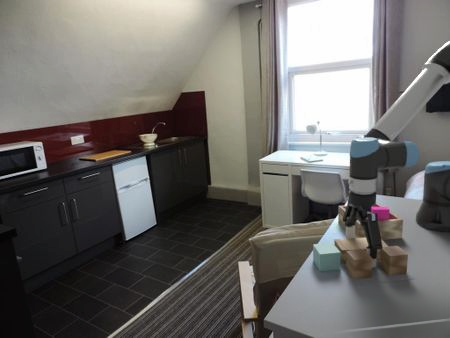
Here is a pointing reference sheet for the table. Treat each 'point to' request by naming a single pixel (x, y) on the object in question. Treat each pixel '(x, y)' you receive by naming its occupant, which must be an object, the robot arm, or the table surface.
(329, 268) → the cube
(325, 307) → the table surface
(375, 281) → the mat
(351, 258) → the pillar
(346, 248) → the lintel
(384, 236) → the wooden open box
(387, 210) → the bracket
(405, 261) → the pillar
